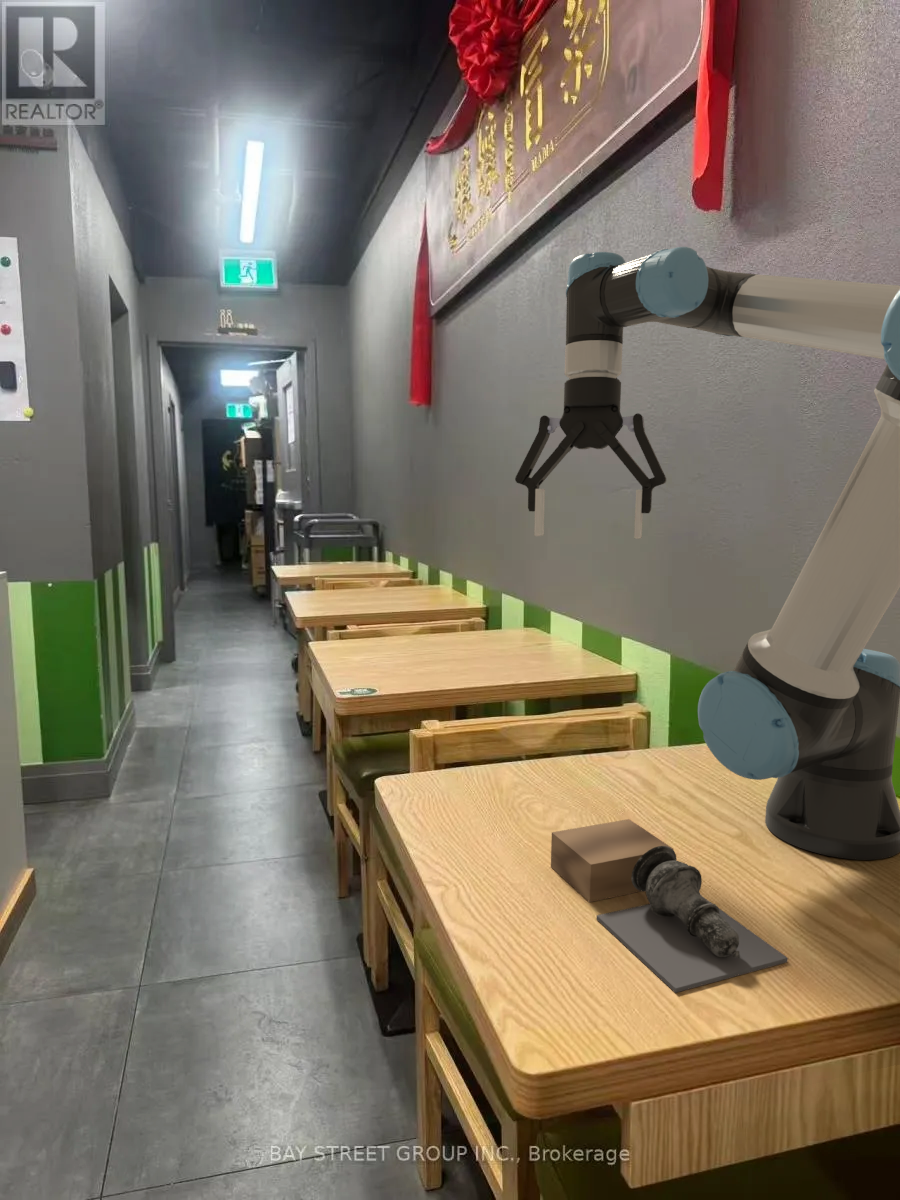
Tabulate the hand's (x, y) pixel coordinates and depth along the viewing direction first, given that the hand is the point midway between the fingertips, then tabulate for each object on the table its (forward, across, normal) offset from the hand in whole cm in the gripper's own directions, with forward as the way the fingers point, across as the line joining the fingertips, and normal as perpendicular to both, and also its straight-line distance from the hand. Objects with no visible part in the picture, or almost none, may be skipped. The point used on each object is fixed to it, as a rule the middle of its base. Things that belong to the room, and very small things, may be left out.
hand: (587, 537), depth 108 cm
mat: (+35, -16, +38) cm, 54 cm away
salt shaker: (+31, -12, +33) cm, 47 cm away
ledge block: (+35, -8, +28) cm, 45 cm away
